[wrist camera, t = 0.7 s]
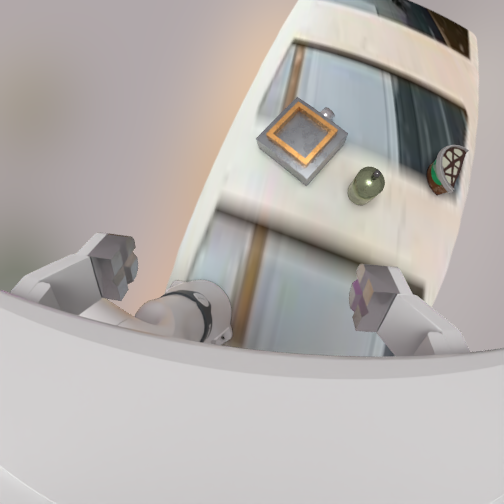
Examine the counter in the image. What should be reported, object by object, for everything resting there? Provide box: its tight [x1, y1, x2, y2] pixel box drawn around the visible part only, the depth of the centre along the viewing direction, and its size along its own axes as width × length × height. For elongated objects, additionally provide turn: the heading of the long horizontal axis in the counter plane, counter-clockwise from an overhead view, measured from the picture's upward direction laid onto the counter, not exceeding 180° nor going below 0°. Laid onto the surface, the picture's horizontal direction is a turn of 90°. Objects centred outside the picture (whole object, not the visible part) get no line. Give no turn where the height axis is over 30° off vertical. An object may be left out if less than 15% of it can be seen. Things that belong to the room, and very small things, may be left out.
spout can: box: [348, 167, 385, 205], centre depth 53 cm, size 6×6×13 cm
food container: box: [427, 145, 469, 195], centre depth 52 cm, size 12×6×10 cm, turn 148°
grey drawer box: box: [256, 97, 348, 186], centre depth 58 cm, size 17×14×8 cm
